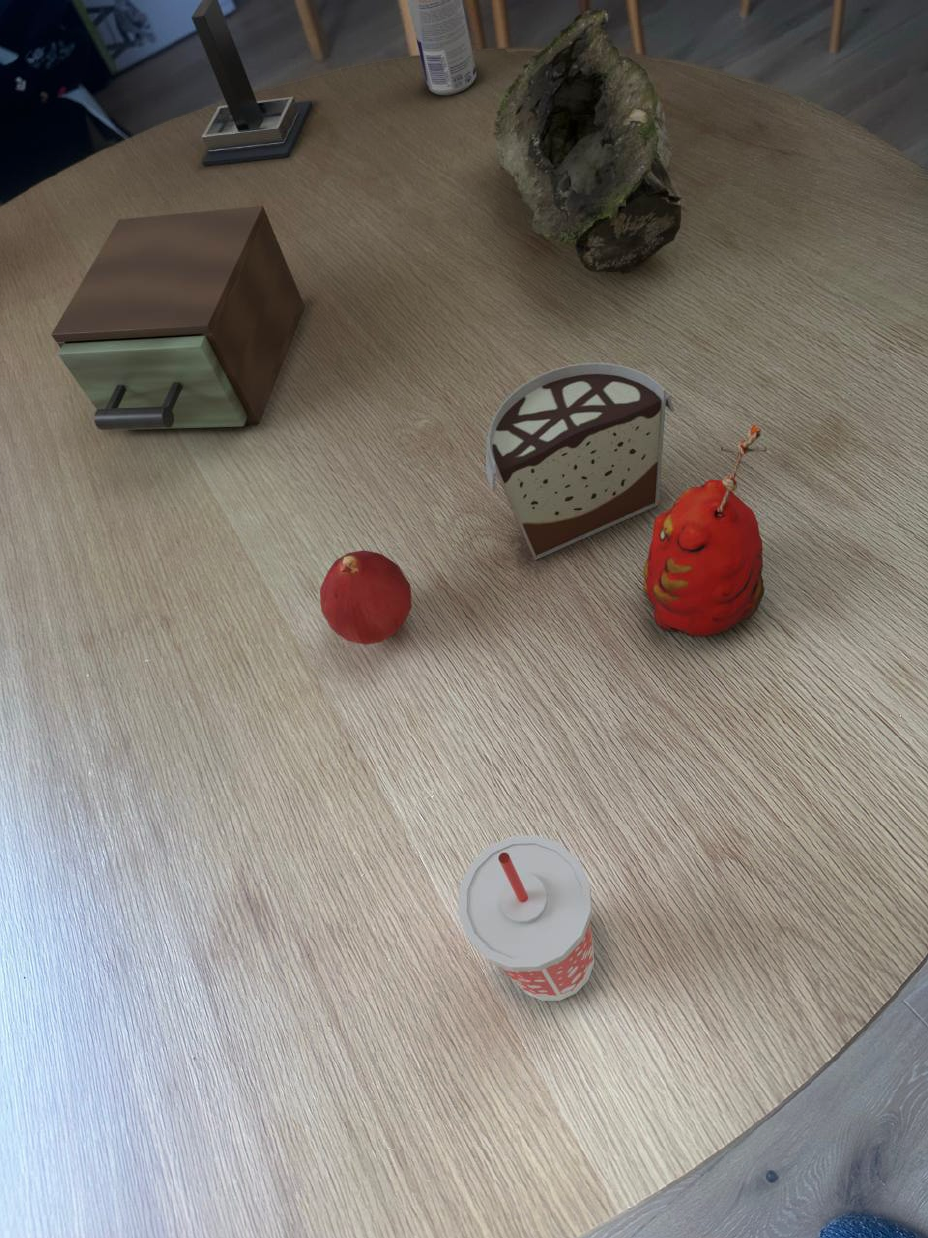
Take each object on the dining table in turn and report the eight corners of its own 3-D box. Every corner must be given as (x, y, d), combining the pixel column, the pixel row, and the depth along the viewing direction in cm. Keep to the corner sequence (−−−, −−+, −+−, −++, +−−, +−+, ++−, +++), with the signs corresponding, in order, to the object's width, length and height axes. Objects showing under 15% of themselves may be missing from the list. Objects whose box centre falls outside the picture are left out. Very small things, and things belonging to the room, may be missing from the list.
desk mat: (204, 166, 107) (202, 161, 106) (231, 114, 112) (229, 110, 112) (288, 156, 104) (286, 152, 104) (312, 104, 109) (311, 100, 109)
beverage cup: (594, 887, 53) (560, 774, 42) (622, 1003, 50) (594, 913, 38) (484, 912, 54) (422, 807, 42) (504, 1029, 50) (442, 948, 39)
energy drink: (455, 64, 108) (429, -58, 98) (487, 76, 105) (463, -48, 95) (418, 88, 106) (388, -33, 97) (449, 101, 103) (421, -23, 94)
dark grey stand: (209, 154, 107) (153, 27, 96) (225, 123, 110) (173, -3, 100) (285, 145, 104) (236, 14, 94) (299, 114, 108) (254, -16, 97)
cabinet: (259, 423, 81) (207, 324, 73) (114, 427, 84) (50, 334, 76) (305, 306, 88) (263, 205, 80) (171, 314, 92) (118, 218, 84)
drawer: (227, 466, 77) (181, 386, 70) (91, 468, 80) (34, 393, 74) (288, 315, 87) (252, 232, 80) (164, 323, 90) (119, 244, 83)
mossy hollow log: (643, 355, 82) (777, 213, 72) (518, 294, 76) (645, 130, 66) (593, 164, 98) (697, 25, 88) (485, 101, 92) (584, -56, 82)
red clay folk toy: (667, 543, 65) (656, 370, 53) (776, 562, 62) (790, 385, 50) (634, 637, 62) (613, 474, 50) (748, 661, 59) (755, 496, 47)
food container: (637, 440, 71) (626, 329, 63) (678, 496, 67) (673, 385, 59) (481, 509, 70) (450, 406, 62) (514, 569, 67) (486, 468, 59)
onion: (327, 621, 67) (286, 549, 61) (401, 581, 68) (368, 505, 62) (361, 681, 64) (320, 611, 58) (438, 638, 65) (406, 564, 58)
